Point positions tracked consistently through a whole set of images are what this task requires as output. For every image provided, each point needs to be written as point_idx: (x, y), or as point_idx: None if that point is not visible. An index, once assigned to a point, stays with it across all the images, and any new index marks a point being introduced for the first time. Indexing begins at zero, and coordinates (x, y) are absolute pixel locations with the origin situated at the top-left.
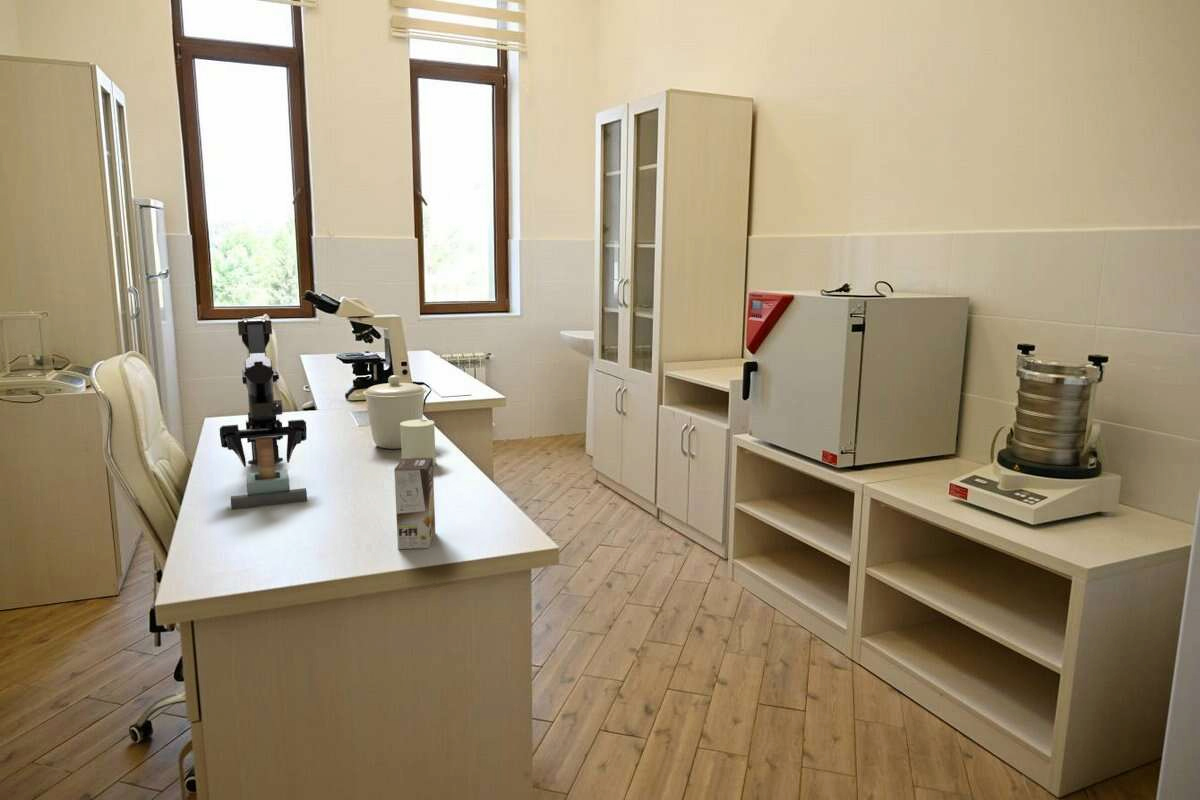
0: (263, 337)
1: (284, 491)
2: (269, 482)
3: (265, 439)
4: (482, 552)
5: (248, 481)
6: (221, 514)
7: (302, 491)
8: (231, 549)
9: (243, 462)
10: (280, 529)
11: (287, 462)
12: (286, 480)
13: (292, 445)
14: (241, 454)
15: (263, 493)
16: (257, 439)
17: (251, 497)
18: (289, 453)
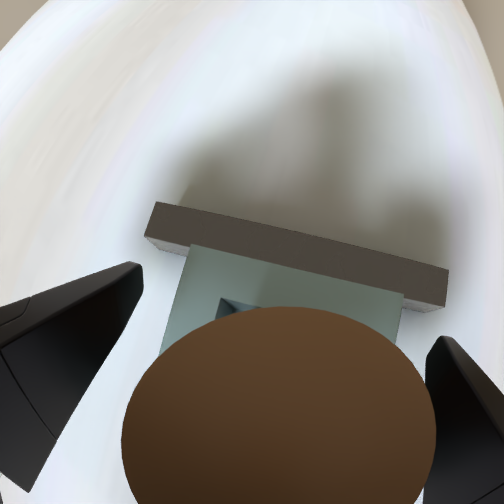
0: None
1: (234, 240)
2: (291, 270)
3: (277, 380)
4: None
5: (388, 330)
6: (456, 246)
7: (171, 205)
8: (414, 28)
9: (459, 345)
10: (321, 46)
11: (142, 284)
12: (205, 248)
13: (15, 306)
14: (492, 391)
15: (323, 266)
16: (398, 479)
17: (375, 253)
18: (89, 277)
